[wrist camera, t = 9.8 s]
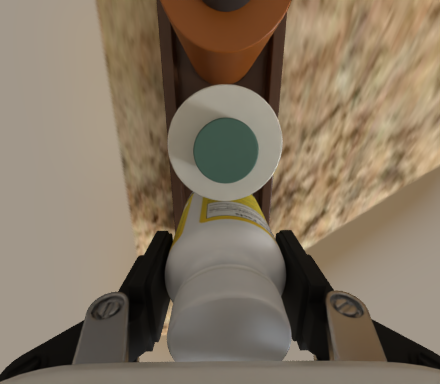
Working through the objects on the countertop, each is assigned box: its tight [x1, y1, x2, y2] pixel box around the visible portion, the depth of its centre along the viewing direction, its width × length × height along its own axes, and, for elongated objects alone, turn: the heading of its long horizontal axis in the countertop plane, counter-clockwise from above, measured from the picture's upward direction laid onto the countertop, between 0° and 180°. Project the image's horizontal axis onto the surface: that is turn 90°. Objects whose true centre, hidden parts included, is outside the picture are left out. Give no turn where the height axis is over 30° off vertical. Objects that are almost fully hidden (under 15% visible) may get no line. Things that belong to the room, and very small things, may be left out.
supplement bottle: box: [165, 192, 292, 362], centre depth 11 cm, size 5×5×10 cm
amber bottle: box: [160, 0, 292, 85], centre depth 11 cm, size 5×5×10 cm
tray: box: [157, 0, 287, 234], centre depth 17 cm, size 19×8×2 cm, turn 0°
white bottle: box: [168, 84, 283, 201], centre depth 13 cm, size 5×5×10 cm
